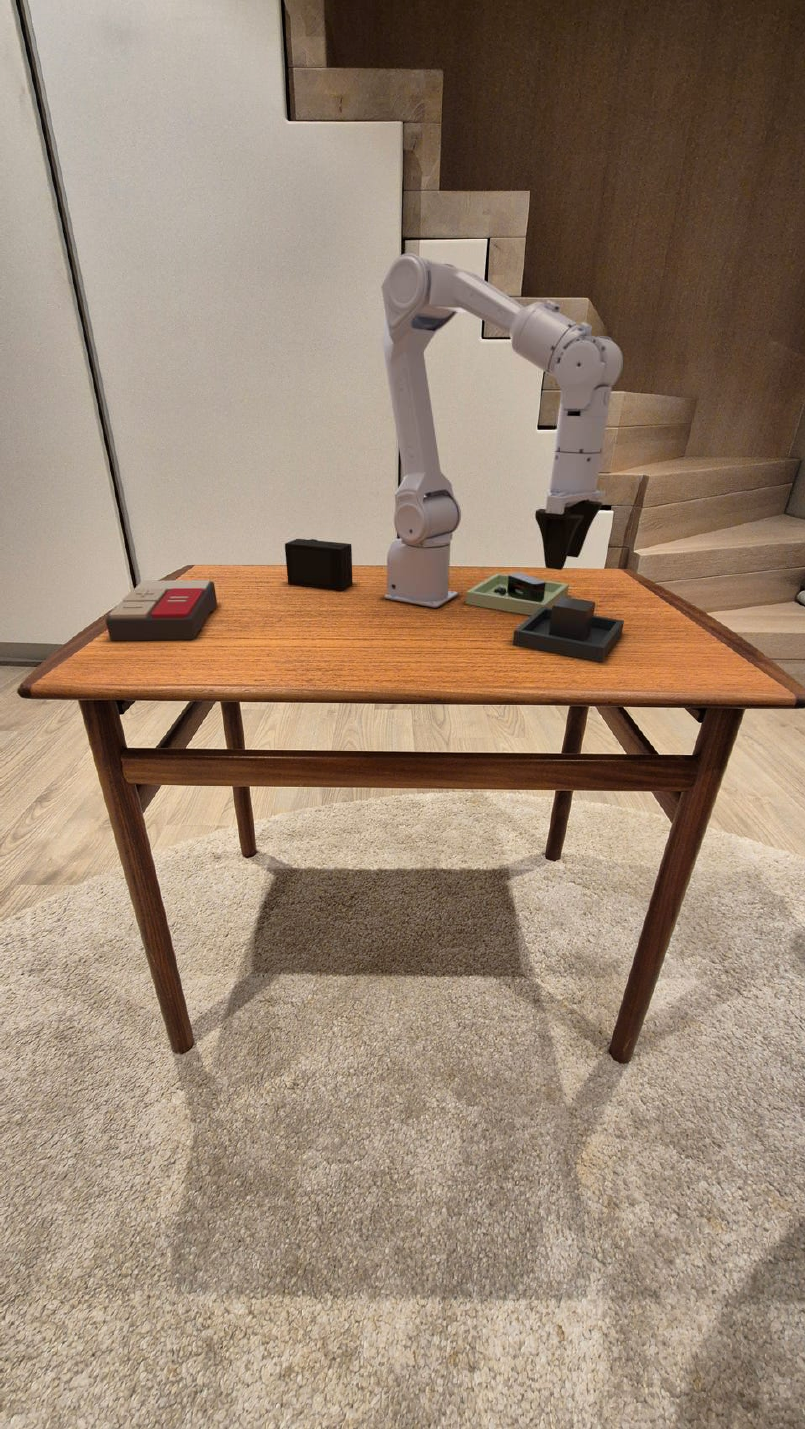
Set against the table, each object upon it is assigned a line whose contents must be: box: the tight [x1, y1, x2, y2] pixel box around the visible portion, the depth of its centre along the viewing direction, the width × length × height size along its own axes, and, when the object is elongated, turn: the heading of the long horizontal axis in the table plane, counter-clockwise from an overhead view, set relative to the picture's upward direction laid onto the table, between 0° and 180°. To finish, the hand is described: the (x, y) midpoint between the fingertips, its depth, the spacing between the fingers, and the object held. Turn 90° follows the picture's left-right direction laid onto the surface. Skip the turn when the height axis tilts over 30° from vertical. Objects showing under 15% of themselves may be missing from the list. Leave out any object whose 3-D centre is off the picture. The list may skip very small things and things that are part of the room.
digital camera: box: [284, 538, 354, 592], centre depth 101 cm, size 10×5×7 cm, turn 69°
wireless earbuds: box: [494, 572, 547, 602], centre depth 94 cm, size 5×7×3 cm, turn 32°
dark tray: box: [512, 607, 625, 663], centre depth 80 cm, size 12×12×2 cm
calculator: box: [105, 579, 218, 642], centre depth 84 cm, size 11×4×15 cm
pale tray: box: [465, 573, 570, 617], centre depth 96 cm, size 13×13×2 cm
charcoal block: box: [549, 596, 597, 642], centre depth 80 cm, size 4×4×4 cm
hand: (562, 562), depth 80 cm, fingers open, 7 cm apart
